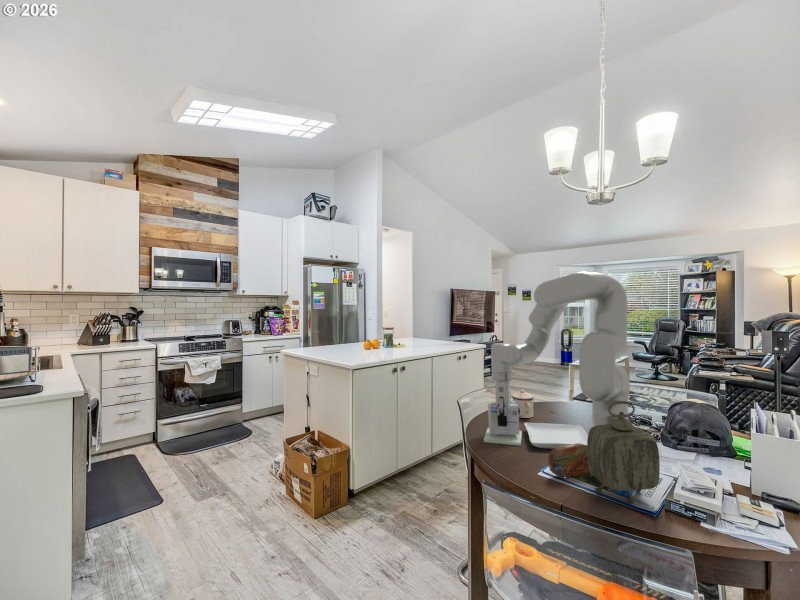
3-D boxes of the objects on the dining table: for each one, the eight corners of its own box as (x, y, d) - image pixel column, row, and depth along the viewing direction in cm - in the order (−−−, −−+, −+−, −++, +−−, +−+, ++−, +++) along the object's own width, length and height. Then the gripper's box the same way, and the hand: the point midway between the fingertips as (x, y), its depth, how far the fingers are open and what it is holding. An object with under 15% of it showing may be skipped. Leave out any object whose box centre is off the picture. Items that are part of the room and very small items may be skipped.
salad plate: (598, 455, 125) (597, 444, 125) (531, 451, 129) (530, 441, 129) (580, 433, 145) (580, 424, 146) (523, 430, 150) (523, 422, 150)
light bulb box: (516, 428, 144) (515, 400, 145) (520, 435, 138) (519, 405, 138) (487, 428, 145) (487, 400, 146) (490, 434, 139) (489, 405, 139)
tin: (554, 480, 107) (552, 451, 107) (546, 476, 110) (545, 447, 110) (596, 472, 111) (595, 443, 111) (588, 468, 114) (587, 440, 114)
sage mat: (520, 445, 133) (520, 442, 133) (483, 441, 138) (483, 439, 138) (521, 433, 146) (521, 430, 146) (487, 430, 150) (487, 427, 150)
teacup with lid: (509, 413, 171) (508, 388, 171) (528, 412, 172) (527, 387, 172) (520, 422, 159) (519, 394, 159) (540, 420, 160) (540, 393, 160)
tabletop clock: (640, 488, 102) (637, 396, 102) (665, 507, 92) (662, 405, 93) (587, 491, 101) (585, 398, 101) (607, 509, 92) (604, 407, 92)
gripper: (510, 381, 132) (512, 431, 132) (513, 372, 149) (514, 416, 149) (489, 380, 135) (490, 429, 135) (494, 371, 151) (495, 415, 151)
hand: (503, 422), depth 142 cm, fingers closed on light bulb box, 7 cm apart
